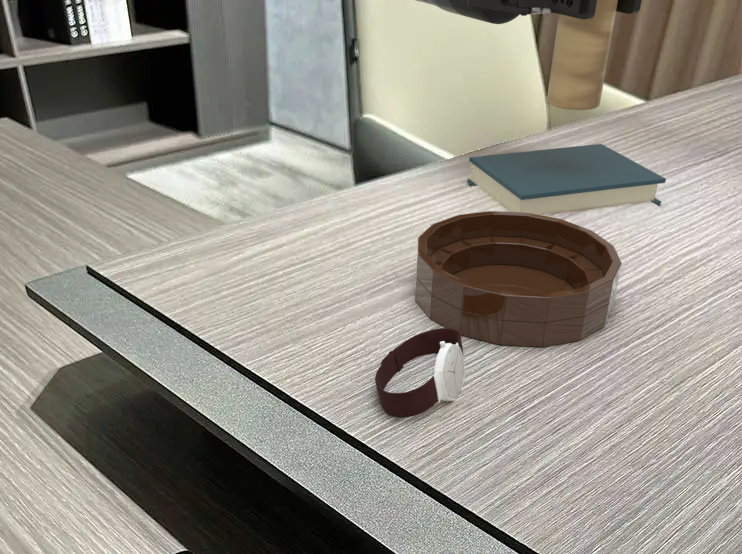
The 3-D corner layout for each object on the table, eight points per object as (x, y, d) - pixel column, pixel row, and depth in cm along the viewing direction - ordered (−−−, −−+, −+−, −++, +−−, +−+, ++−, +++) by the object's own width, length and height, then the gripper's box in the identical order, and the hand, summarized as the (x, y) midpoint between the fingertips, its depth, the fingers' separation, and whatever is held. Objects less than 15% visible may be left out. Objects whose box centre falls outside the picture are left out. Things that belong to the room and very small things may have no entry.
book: (597, 168, 80) (601, 143, 79) (660, 205, 72) (666, 178, 71) (466, 182, 76) (469, 157, 75) (518, 223, 68) (521, 195, 67)
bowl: (546, 251, 64) (553, 203, 62) (649, 335, 53) (662, 280, 51) (387, 273, 60) (389, 223, 58) (463, 368, 49) (469, 310, 47)
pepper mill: (581, 94, 72) (612, -97, 64) (609, 108, 68) (646, -93, 61) (537, 98, 71) (563, -97, 63) (563, 112, 67) (594, -92, 59)
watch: (433, 439, 43) (438, 382, 41) (354, 414, 45) (355, 359, 43) (480, 368, 49) (486, 315, 47) (408, 348, 51) (411, 297, 49)
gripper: (414, -68, 70) (556, -46, 58) (537, -74, 77) (688, -56, 65) (410, 23, 74) (542, 62, 62) (527, 10, 81) (667, 43, 68)
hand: (615, 2), depth 63 cm, fingers closed on pepper mill, 4 cm apart
